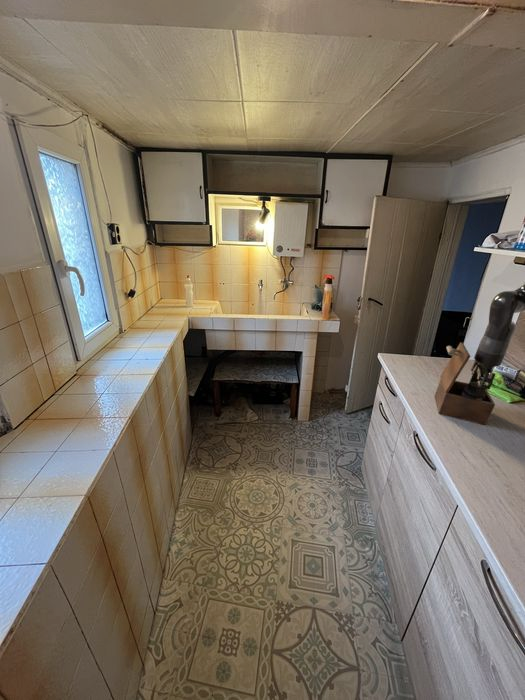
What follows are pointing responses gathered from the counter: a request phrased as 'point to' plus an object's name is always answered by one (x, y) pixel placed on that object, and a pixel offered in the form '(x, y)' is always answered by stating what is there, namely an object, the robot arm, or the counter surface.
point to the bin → (463, 404)
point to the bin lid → (454, 365)
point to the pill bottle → (471, 391)
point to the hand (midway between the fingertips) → (475, 390)
